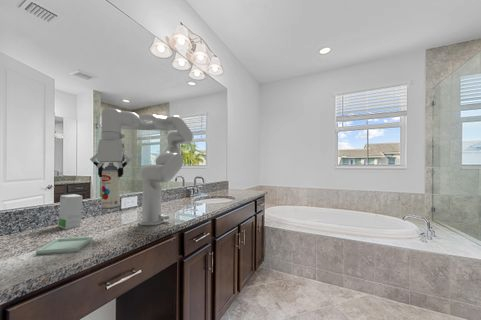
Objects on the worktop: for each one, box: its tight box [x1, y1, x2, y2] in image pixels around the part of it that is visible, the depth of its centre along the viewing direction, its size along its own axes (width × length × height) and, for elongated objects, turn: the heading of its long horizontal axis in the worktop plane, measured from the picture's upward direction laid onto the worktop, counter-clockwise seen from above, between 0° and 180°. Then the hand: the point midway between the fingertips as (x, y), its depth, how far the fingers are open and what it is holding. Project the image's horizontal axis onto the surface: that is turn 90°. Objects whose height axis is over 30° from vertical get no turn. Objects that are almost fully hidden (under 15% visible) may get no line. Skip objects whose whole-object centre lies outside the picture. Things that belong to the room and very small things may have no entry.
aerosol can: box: [100, 162, 121, 210], centre depth 93 cm, size 7×7×20 cm
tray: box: [35, 236, 94, 256], centre depth 79 cm, size 12×12×2 cm
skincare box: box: [57, 193, 83, 230], centre depth 105 cm, size 8×7×16 cm
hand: (110, 176), depth 93 cm, fingers closed on aerosol can, 6 cm apart
